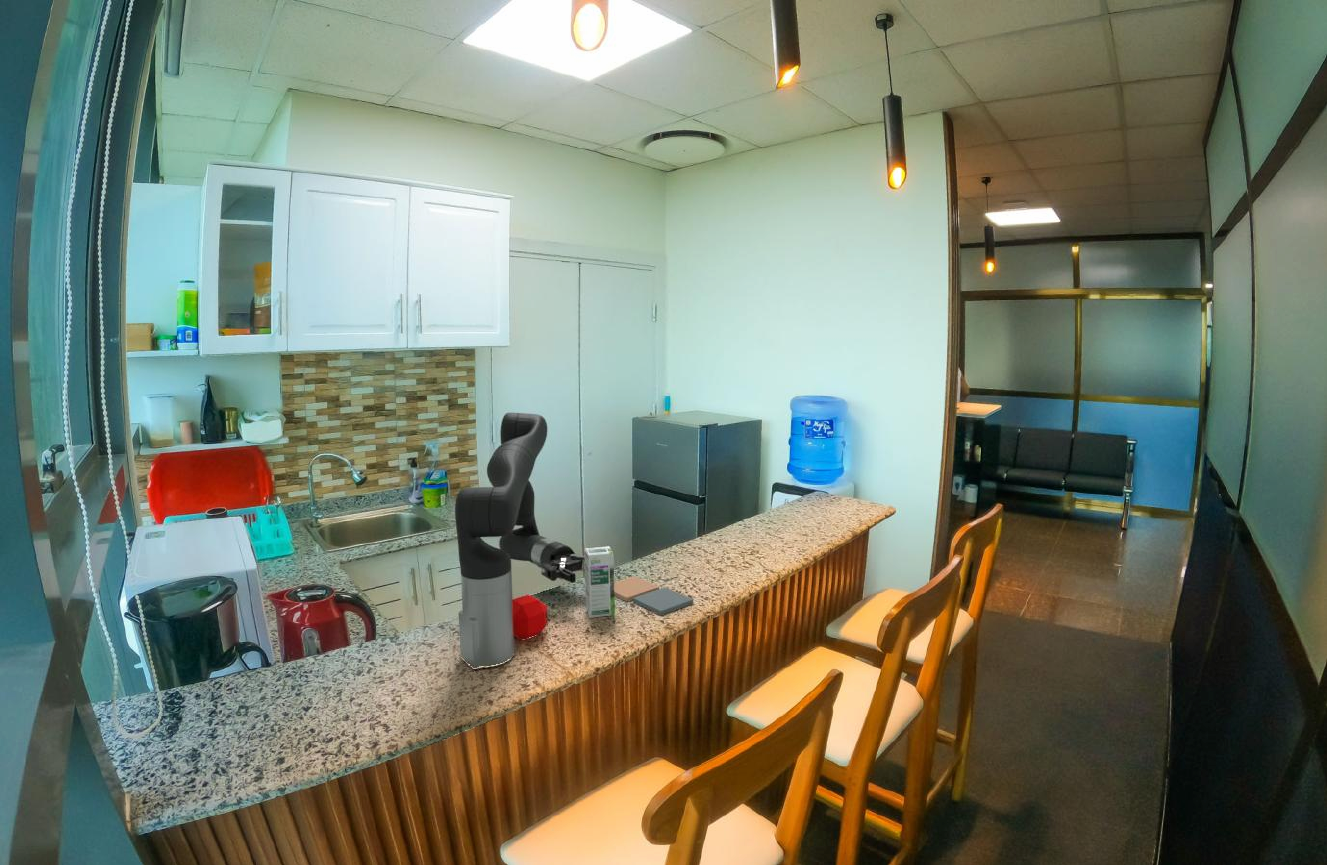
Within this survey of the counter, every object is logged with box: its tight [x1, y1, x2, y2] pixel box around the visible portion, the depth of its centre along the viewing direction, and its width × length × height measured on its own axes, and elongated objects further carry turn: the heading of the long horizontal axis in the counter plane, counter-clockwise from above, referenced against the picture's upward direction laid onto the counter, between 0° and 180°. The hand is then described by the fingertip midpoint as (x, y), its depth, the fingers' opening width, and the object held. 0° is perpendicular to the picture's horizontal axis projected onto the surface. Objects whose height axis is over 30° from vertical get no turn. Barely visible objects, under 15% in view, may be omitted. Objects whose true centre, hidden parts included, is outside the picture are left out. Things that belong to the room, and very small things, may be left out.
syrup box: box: [583, 545, 616, 619], centre depth 140 cm, size 6×6×14 cm
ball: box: [512, 594, 549, 640], centre depth 129 cm, size 8×8×8 cm
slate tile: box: [632, 586, 694, 616], centre depth 145 cm, size 10×10×1 cm
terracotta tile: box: [614, 575, 660, 603], centre depth 153 cm, size 10×10×1 cm
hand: (590, 573), depth 142 cm, fingers open, 8 cm apart
